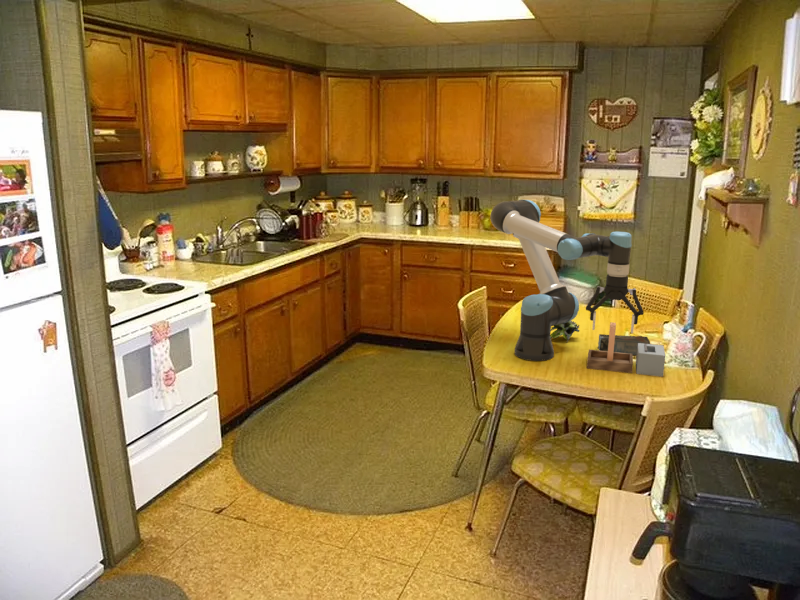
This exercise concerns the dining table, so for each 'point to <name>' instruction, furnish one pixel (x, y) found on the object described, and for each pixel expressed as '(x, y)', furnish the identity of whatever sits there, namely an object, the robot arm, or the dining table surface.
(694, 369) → the dining table surface
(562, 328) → the green leafy plant
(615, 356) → the tray
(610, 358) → the tan wooden bar
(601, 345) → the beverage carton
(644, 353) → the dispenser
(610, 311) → the dining table surface
